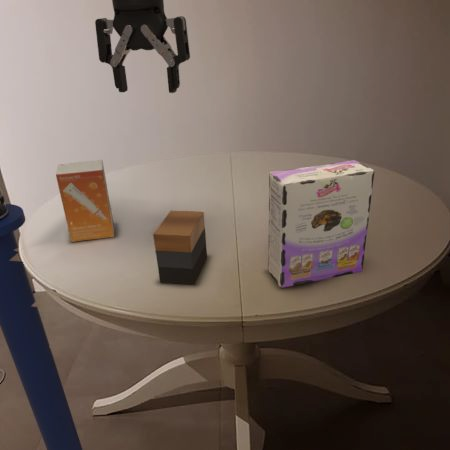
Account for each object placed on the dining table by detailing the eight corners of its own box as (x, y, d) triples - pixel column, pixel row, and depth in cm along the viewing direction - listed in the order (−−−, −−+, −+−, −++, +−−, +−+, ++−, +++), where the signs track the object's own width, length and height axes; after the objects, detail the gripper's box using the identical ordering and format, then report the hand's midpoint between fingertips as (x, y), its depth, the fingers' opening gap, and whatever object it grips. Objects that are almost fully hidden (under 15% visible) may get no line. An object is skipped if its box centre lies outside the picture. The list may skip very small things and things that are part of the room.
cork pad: (191, 252, 69) (189, 235, 68) (155, 250, 70) (152, 233, 69) (204, 227, 77) (203, 211, 75) (172, 226, 78) (170, 210, 76)
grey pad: (192, 269, 71) (191, 252, 69) (157, 267, 72) (155, 250, 70) (206, 242, 78) (205, 227, 77) (174, 241, 79) (172, 226, 78)
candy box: (345, 257, 78) (356, 158, 69) (363, 273, 73) (377, 169, 64) (266, 271, 75) (267, 169, 66) (280, 289, 70) (283, 182, 61)
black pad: (194, 284, 72) (192, 269, 71) (159, 282, 73) (157, 267, 72) (207, 257, 80) (206, 242, 78) (175, 255, 81) (174, 241, 79)
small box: (71, 243, 87) (54, 174, 80) (72, 229, 92) (56, 163, 85) (115, 237, 88) (102, 169, 81) (114, 224, 93) (102, 158, 86)
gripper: (77, -28, 66) (97, 96, 75) (174, -33, 63) (183, 96, 72) (99, -27, 72) (116, 87, 81) (189, -31, 69) (196, 88, 78)
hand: (148, 91), depth 76 cm, fingers open, 8 cm apart
